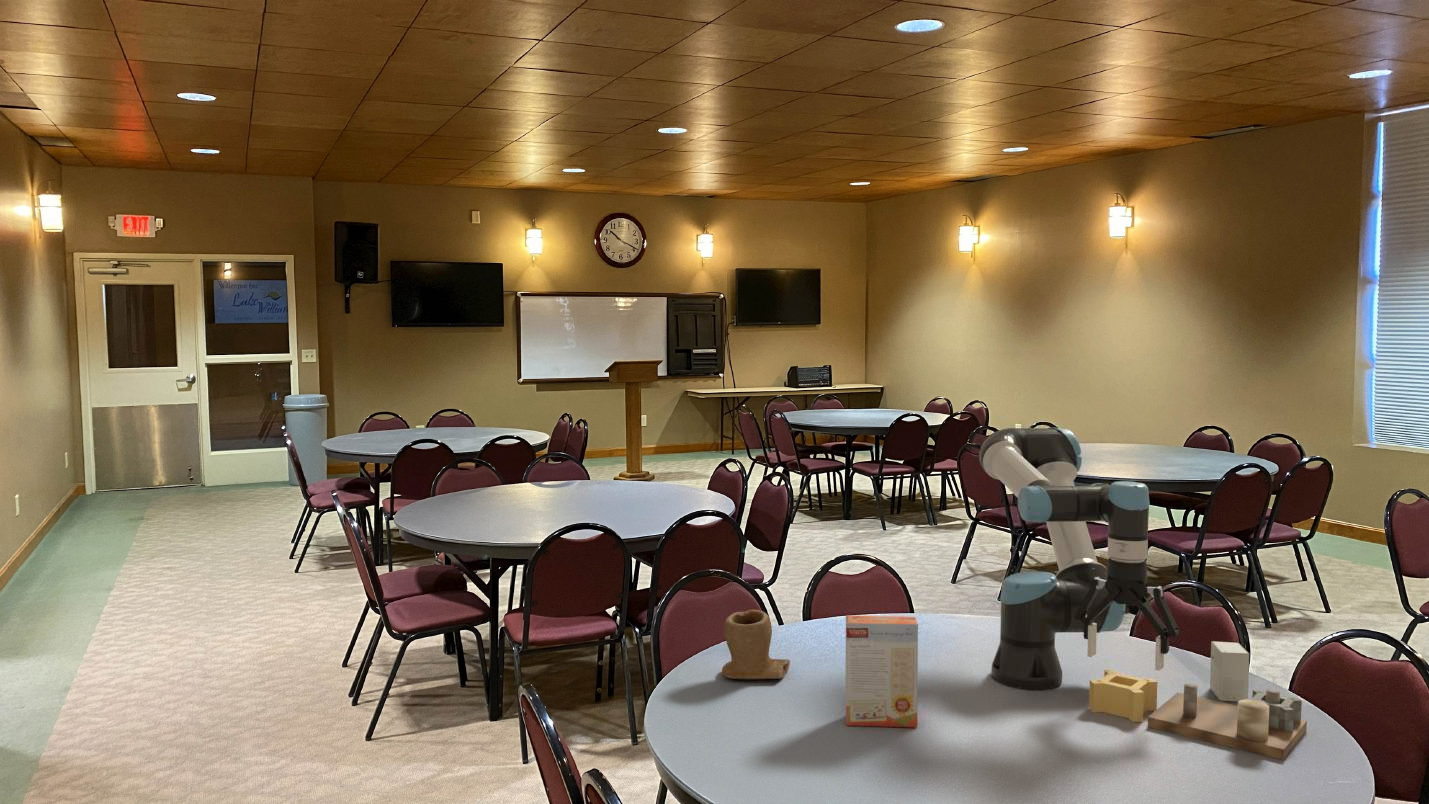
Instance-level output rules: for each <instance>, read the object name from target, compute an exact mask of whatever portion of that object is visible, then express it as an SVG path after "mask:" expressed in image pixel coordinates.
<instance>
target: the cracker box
mask: <svg viewBox="0 0 1429 804" xmlns="http://www.w3.org/2000/svg"><path fill="white" fill-rule="evenodd" d="M918 647H919V623H918V621H917V618H916V616H899V615H898V616H897V615H896V616H893V615H890V616H888V615H887V616H886V615H883V616H882V615H878V616H877V615H846V616H845V722H846V724H845V725H846V726H849V727H850V726H853V727H855V726H857V727H859V726H860V727H886V728H887V727H888V728H889V727H892V728H918V702H919V701H918V700H919V699H918V695H919V693H918V692H919V691H918V690H919V687H918V686H919V685H918V684H919V683H918V681H919V680H918V679H919V678H918V676H919V672H918V670H919V669H918V667H919V664H918V663H919V661H918V660H919V659H918V658H919V654H918V653H919V652H918V651H919V649H918Z"/></svg>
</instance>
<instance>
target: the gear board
mask: <svg viewBox="0 0 1429 804" xmlns="http://www.w3.org/2000/svg"><path fill="white" fill-rule="evenodd" d="M1251 697H1252V698H1248V699H1244V700H1240V701H1238V702H1237V704H1233V703H1227V702H1225V701H1220V700H1219V701H1218V700H1214V699H1210V698H1205V697H1200V696H1198V685H1196V684H1194V683H1184V685H1183V693H1182V692H1176V693H1175V694H1174V695H1172V696H1171V697H1170V698H1169V699H1167V701H1165V702H1164V703H1163V704H1161V705H1160V706H1159V707H1157V710H1156V711H1152V713H1150V715H1148V716H1147V727H1148V728H1152V729H1154V730H1155V729H1156V730H1159V731H1163V732H1168V733H1172V734H1176V735H1180V736H1183V737H1187V738H1192V739H1196V740H1201V741H1204V742H1208V743H1212V744H1217V745H1221V746H1225V747H1229V748H1233V749H1237V750H1241V751H1245V752H1249V753H1253V754H1258V755H1261V756H1265V757H1270V758H1273V759H1277V760H1281V761H1284V760H1285V759H1286V758H1287V756H1288V755H1289V754H1290V752H1291V751H1292V750H1293V749H1294V748H1295V746H1296V745H1297V744H1298V742H1299V741H1300V740H1301V738H1302V737H1303V736H1304V734H1305V733H1306V732H1307V729H1308V728H1307V725H1308V723H1307V722H1308V720H1305V719H1302V703H1303V700H1301V699H1300V698H1298V697H1297V696H1296V697H1287V696H1283V695H1281V692H1280V690H1277V689H1271V688H1269V689H1266V690H1265V691H1264V690H1261V689H1253V690H1252V696H1251Z"/></svg>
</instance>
